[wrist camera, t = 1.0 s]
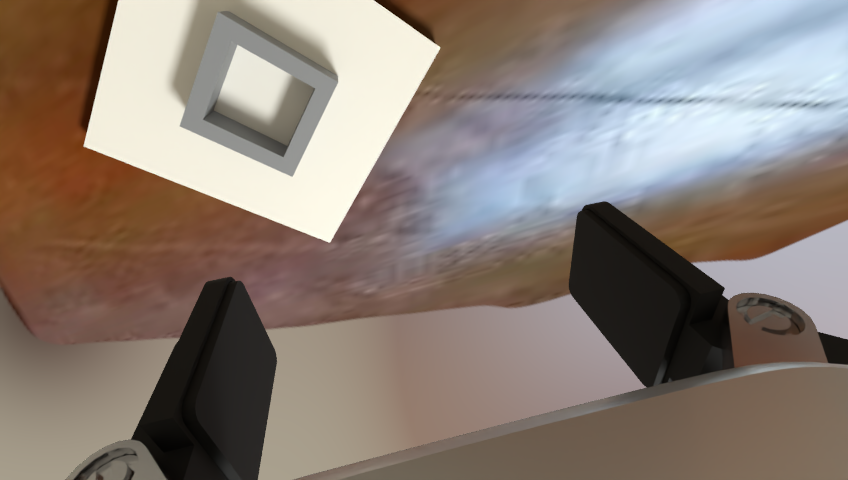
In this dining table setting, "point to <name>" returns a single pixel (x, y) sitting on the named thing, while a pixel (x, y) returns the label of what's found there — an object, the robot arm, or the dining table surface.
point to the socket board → (258, 99)
